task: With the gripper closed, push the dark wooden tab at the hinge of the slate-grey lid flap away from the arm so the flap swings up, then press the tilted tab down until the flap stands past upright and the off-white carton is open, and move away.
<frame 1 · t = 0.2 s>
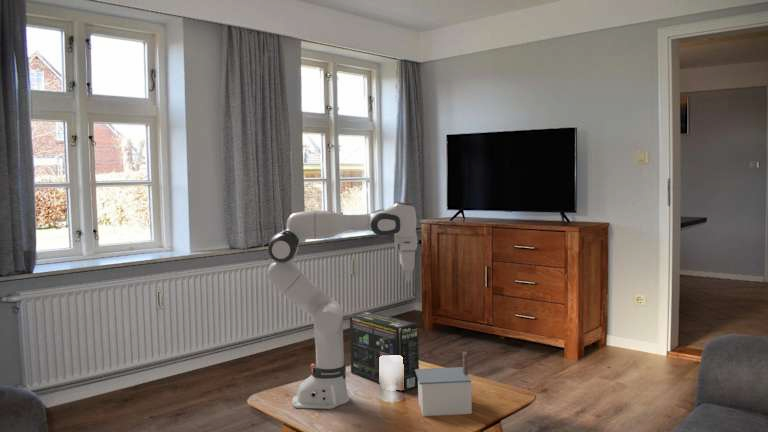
hand: (406, 278, 244), 47 cm above the table, tool pointing down, fingers open, 8 cm apart
router box: (383, 379, 269), on the table
lid flap: (442, 365, 234), point 16 cm above the table, hinge at 0.0°
carton: (444, 407, 235), on the table
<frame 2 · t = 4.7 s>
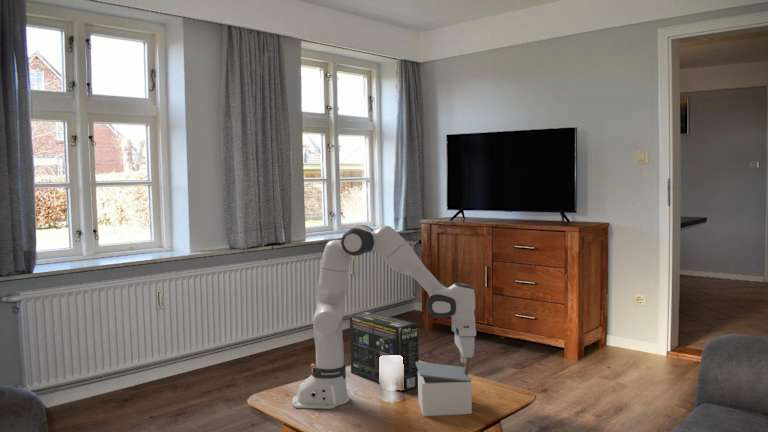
hand: (463, 362, 234), 17 cm above the table, tool pointing down, fingers closed, pressing on lid flap
lid flap: (444, 361, 234), point 18 cm above the table, hinge at 9.3°, touching gripper
everything else where it was.
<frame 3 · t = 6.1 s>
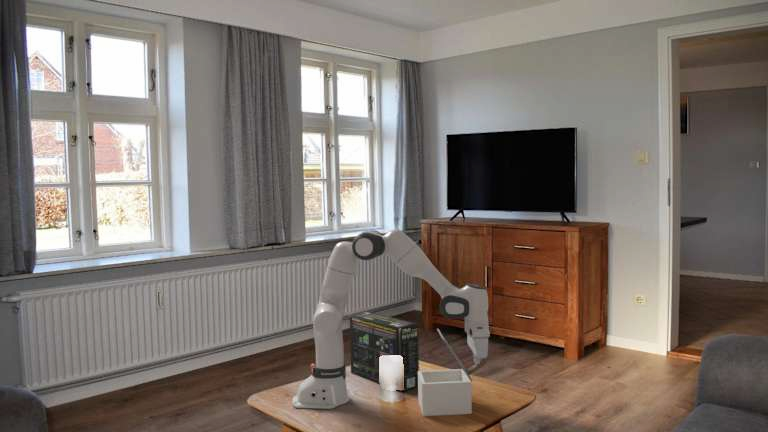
hand: (476, 363, 235), 16 cm above the table, tool pointing down, fingers closed, pressing on lid flap
lid flap: (463, 348, 234), point 22 cm above the table, hinge at 57.7°, touching gripper
everything else where it was.
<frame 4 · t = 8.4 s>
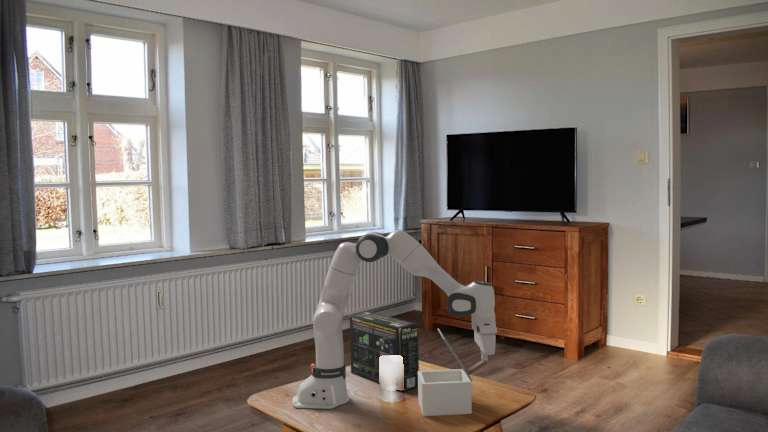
hand: (484, 359, 235), 18 cm above the table, tool pointing down, fingers closed, pressing on lid flap
lid flap: (463, 348, 234), point 22 cm above the table, hinge at 58.4°, touching gripper
everything else where it was.
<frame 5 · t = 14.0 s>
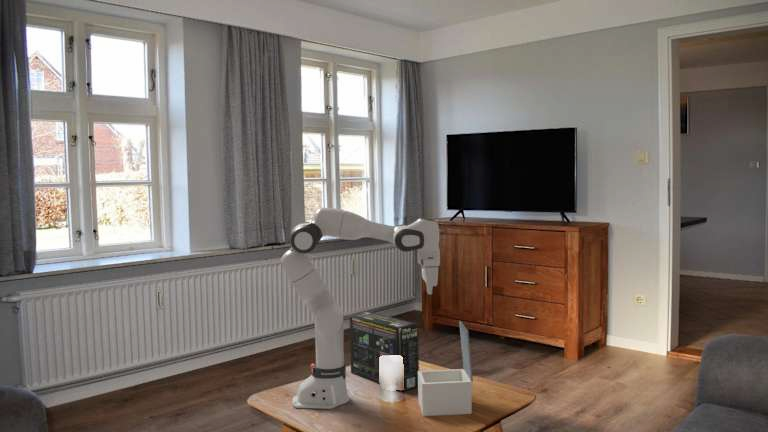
hand: (429, 293, 245), 41 cm above the table, tool pointing down, fingers closed
lid flap: (476, 349, 234), point 22 cm above the table, hinge at 85.8°
everything else where it was.
at the end: lid flap at +86° (first picture: +0°) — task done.
